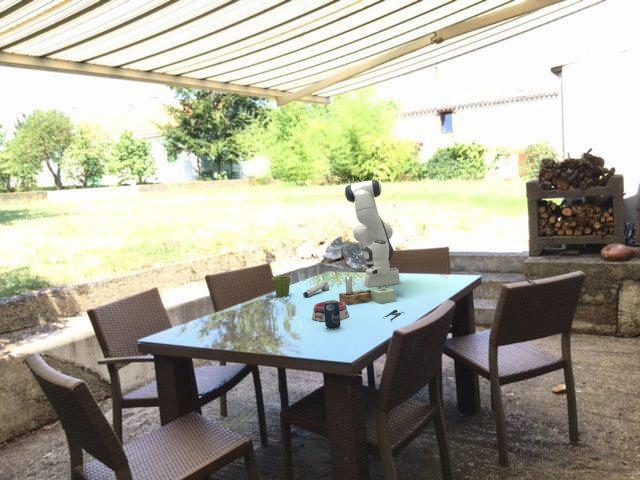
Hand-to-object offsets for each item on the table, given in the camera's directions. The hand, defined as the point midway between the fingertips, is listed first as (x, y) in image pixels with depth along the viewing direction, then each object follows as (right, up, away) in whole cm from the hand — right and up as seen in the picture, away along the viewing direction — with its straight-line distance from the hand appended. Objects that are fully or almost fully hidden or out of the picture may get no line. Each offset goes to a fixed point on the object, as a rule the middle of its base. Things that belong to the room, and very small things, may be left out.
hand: (383, 293), depth 298 cm
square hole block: (-1, -3, -10) cm, 10 cm away
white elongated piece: (-38, -3, +27) cm, 47 cm away
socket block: (-16, -4, -5) cm, 18 cm away
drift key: (-7, -3, -2) cm, 8 cm away
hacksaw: (-1, -7, -48) cm, 49 cm away
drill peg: (-19, -4, -6) cm, 21 cm away
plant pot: (-59, -5, +29) cm, 66 cm away
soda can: (-30, -10, -57) cm, 65 cm away
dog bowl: (-31, -9, -37) cm, 49 cm away
